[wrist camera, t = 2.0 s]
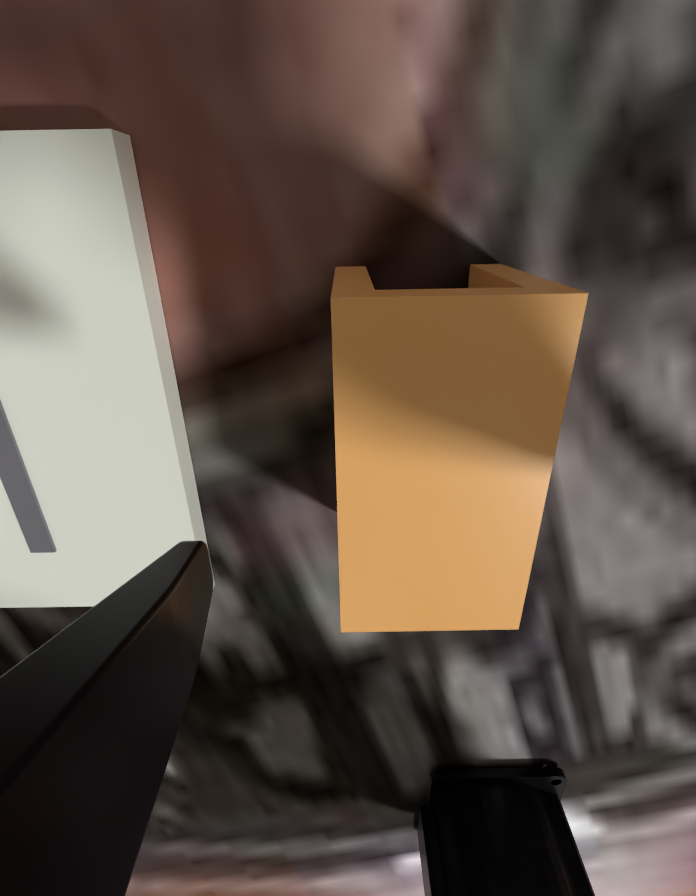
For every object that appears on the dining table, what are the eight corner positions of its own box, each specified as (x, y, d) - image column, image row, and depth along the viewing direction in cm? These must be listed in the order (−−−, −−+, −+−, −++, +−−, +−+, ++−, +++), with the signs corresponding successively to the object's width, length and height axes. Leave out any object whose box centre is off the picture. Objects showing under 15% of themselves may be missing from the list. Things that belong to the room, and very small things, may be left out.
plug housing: (335, 266, 13) (331, 297, 8) (499, 263, 13) (589, 292, 8) (341, 513, 16) (340, 632, 12) (469, 511, 16) (518, 629, 12)
